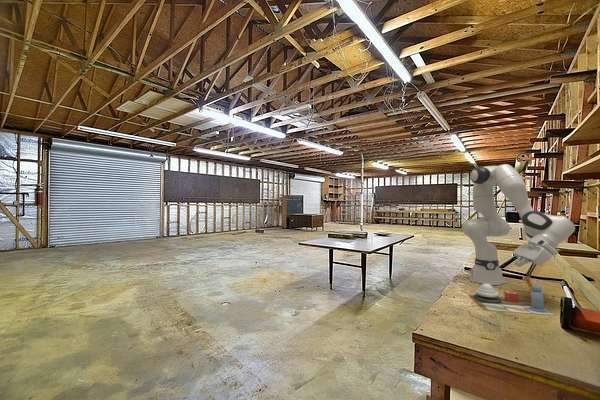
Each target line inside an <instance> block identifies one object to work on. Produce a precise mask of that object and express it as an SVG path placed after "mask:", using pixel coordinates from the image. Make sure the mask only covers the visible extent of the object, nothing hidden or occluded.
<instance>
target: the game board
mask: <svg viewBox="0 0 600 400" xmlns="http://www.w3.org/2000/svg"><path fill="white" fill-rule="evenodd" d="M467 296H468V297H469V298H470V299H471V300H472V301H473V302H474V303H475V304H476V305H477V306H478V307H480V309H482V311H486V312H487V311H488V312H500V313H514V314H525V315H526V314H528V315H541V316H552V317H553V316H554V317H556V316H557V315H556V314H554V313H553V312H551V311H550V310H548V309H546V312H536V311H532V310H530V306H531V299H529V298H528V297H518V298H519V303H515V302H508V301H506V300H505V296H499V297H494V298H493V297H484V296H480V295H478V294H476V293H475V294H467ZM492 315H494V316H496V314H495V313H494V314H492ZM505 316H509V315H507V314H506V315H505ZM518 317H521V318H522V316H518ZM531 318H535V317H532V316H531ZM544 319H545V320H548V318H544Z"/></svg>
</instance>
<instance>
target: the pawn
mask: <svg viewBox="0 0 600 400" xmlns="http://www.w3.org/2000/svg"><path fill="white" fill-rule="evenodd" d="M532 285H533V286H532V290H531V291H530V294H531V298H530V300H531V306H530V310H532V311H536V312H546V310H547V309H546V308H545V306H544V305H545V304H544V302H545V301H544V292H543V290H542V287H541V286H540V285H539V284H532Z"/></svg>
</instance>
